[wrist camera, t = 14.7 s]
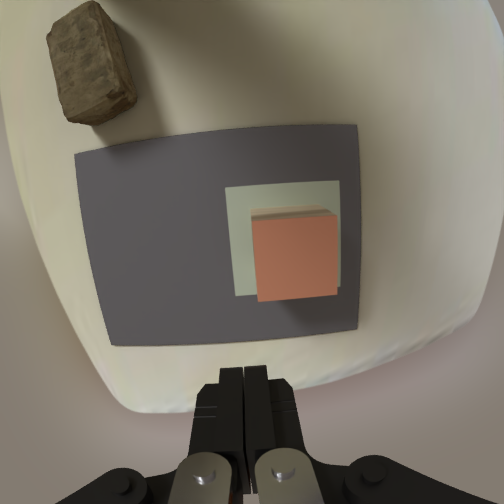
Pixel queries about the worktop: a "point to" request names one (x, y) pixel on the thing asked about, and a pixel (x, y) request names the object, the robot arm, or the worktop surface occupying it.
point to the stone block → (89, 66)
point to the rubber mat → (214, 231)
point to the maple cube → (294, 252)
